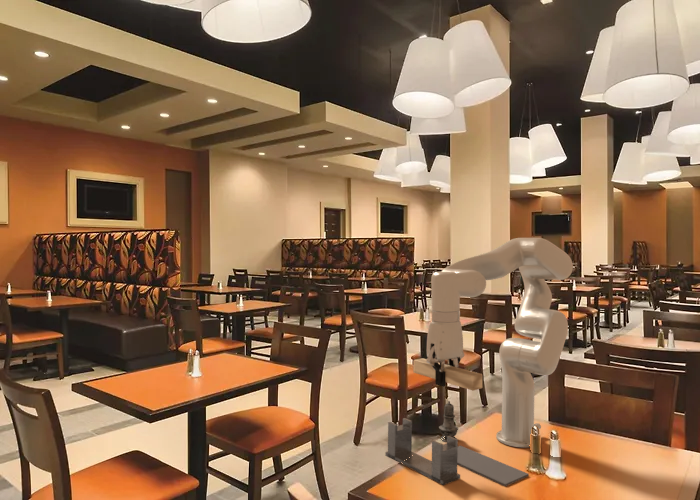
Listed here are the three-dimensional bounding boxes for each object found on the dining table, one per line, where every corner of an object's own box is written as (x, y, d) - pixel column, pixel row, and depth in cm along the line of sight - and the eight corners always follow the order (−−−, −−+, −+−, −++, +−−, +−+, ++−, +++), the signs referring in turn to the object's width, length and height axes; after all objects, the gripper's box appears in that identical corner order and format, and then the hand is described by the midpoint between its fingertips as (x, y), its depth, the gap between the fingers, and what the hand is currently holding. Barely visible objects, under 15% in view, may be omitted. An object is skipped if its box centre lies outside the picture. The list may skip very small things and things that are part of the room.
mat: (460, 447, 150) (460, 445, 150) (528, 476, 132) (528, 473, 132) (437, 455, 144) (437, 453, 144) (505, 486, 126) (505, 484, 126)
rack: (401, 450, 147) (402, 416, 147) (460, 478, 130) (460, 440, 130) (385, 455, 143) (385, 421, 143) (443, 485, 126) (443, 446, 126)
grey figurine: (458, 443, 153) (458, 404, 153) (438, 442, 154) (439, 402, 154) (458, 436, 159) (458, 398, 159) (439, 435, 160) (439, 397, 160)
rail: (422, 370, 147) (422, 358, 147) (482, 388, 129) (482, 374, 129) (413, 372, 145) (413, 360, 145) (472, 390, 127) (472, 376, 127)
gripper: (456, 312, 145) (456, 375, 145) (413, 318, 135) (414, 386, 135) (476, 315, 139) (477, 381, 139) (433, 321, 129) (434, 393, 129)
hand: (446, 383), depth 137 cm, fingers closed on rail, 3 cm apart
